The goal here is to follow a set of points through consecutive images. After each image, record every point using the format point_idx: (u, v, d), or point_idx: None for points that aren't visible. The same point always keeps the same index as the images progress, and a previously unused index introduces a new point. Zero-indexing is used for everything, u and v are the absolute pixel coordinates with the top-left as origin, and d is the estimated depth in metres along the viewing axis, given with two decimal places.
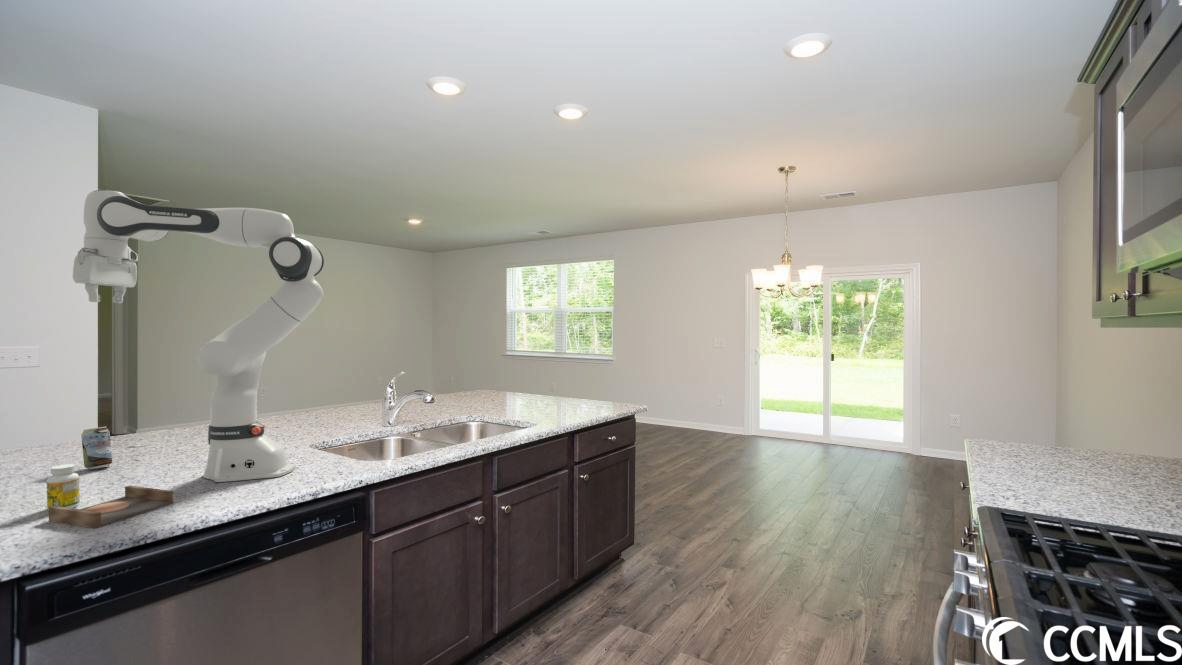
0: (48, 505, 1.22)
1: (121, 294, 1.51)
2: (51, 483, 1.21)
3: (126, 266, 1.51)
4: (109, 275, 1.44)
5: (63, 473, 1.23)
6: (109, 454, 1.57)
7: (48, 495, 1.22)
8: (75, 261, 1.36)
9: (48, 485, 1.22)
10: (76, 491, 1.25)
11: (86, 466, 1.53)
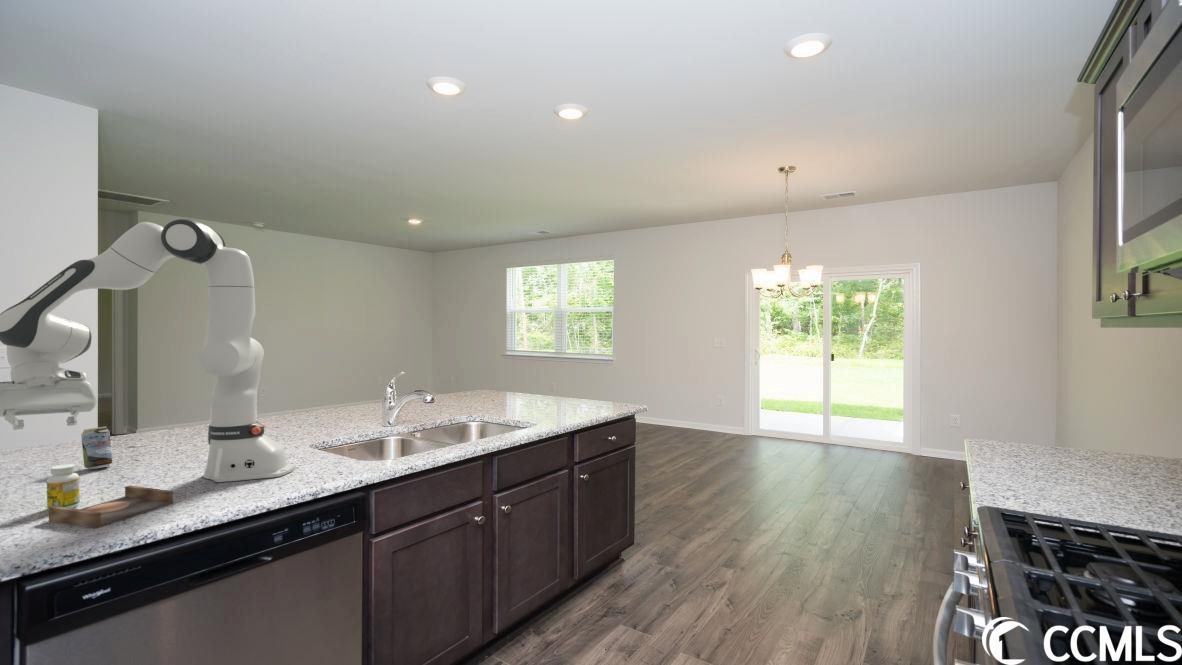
0: (48, 505, 1.22)
1: (73, 414, 1.36)
2: (51, 483, 1.21)
3: (70, 387, 1.39)
4: (33, 398, 1.32)
5: (63, 473, 1.23)
6: (109, 454, 1.57)
7: (48, 495, 1.22)
8: None
9: (48, 485, 1.22)
10: (76, 491, 1.25)
11: (86, 466, 1.53)
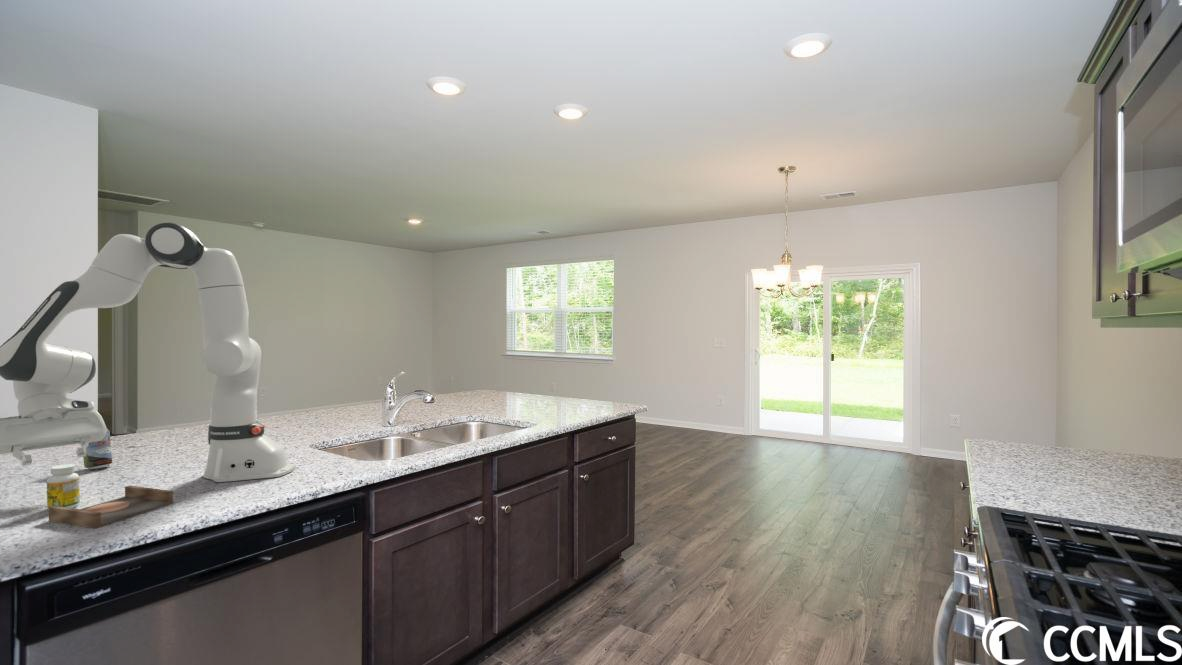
0: (48, 505, 1.22)
1: (83, 445, 1.33)
2: (51, 483, 1.21)
3: (78, 417, 1.35)
4: (40, 431, 1.28)
5: (63, 473, 1.23)
6: (109, 454, 1.57)
7: (48, 495, 1.22)
8: None
9: (48, 485, 1.22)
10: (76, 491, 1.25)
11: (86, 466, 1.53)
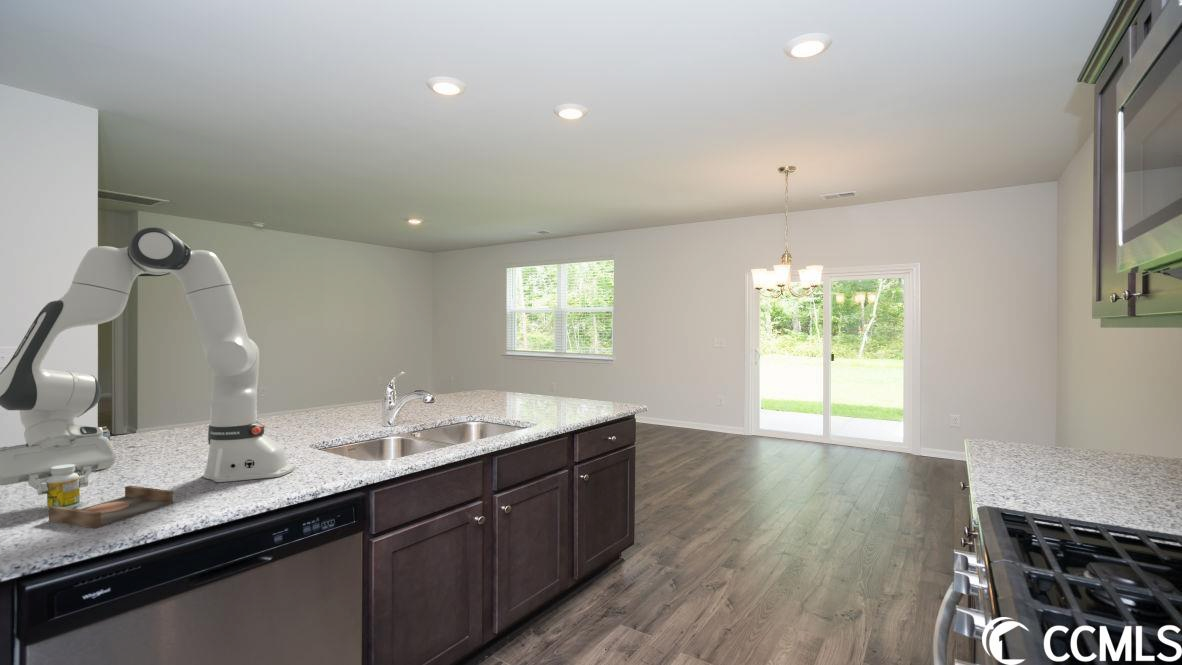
0: (48, 505, 1.22)
1: (84, 474, 1.28)
2: (51, 483, 1.21)
3: (87, 444, 1.31)
4: (48, 460, 1.24)
5: (63, 473, 1.23)
6: None
7: (48, 495, 1.22)
8: None
9: (48, 485, 1.22)
10: (76, 491, 1.25)
11: None
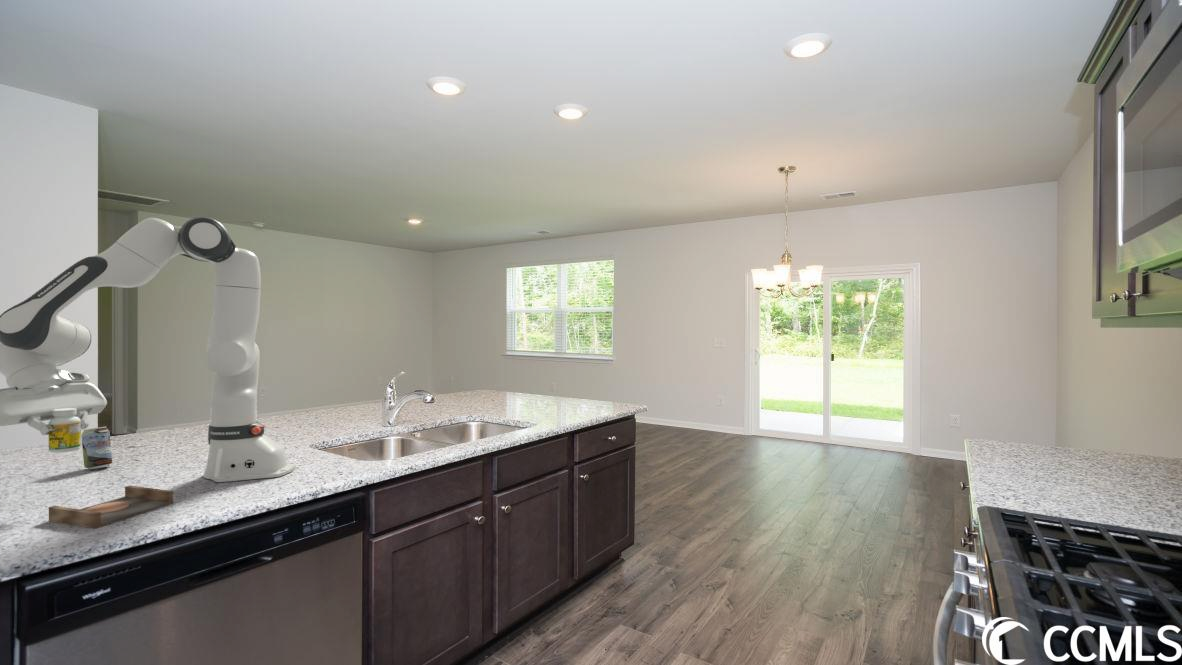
0: (52, 447, 1.23)
1: (82, 417, 1.29)
2: (57, 424, 1.23)
3: (76, 389, 1.32)
4: (45, 402, 1.24)
5: (69, 415, 1.24)
6: (109, 454, 1.57)
7: (53, 436, 1.23)
8: None
9: (53, 427, 1.23)
10: (79, 433, 1.26)
11: (86, 466, 1.53)
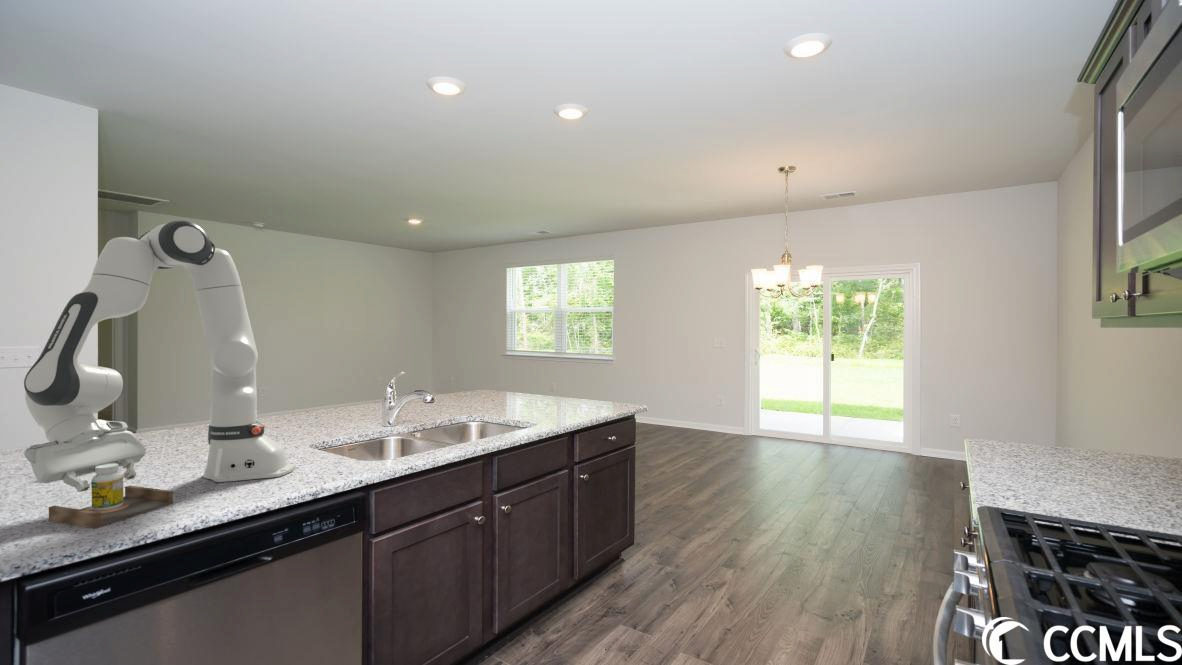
0: (96, 505, 1.20)
1: (129, 467, 1.27)
2: (100, 482, 1.20)
3: (115, 439, 1.29)
4: (87, 455, 1.21)
5: (112, 471, 1.21)
6: None
7: (96, 494, 1.20)
8: (31, 464, 1.15)
9: (96, 485, 1.20)
10: (122, 489, 1.24)
11: None
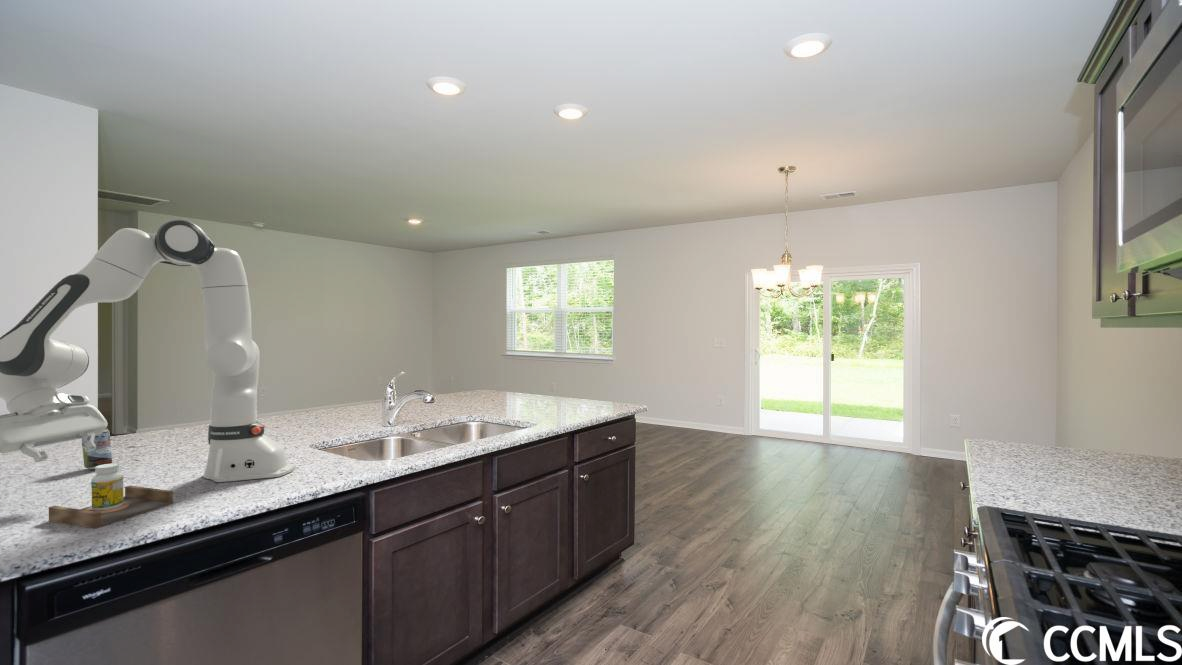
0: (96, 505, 1.20)
1: (90, 439, 1.31)
2: (100, 482, 1.20)
3: (77, 412, 1.32)
4: (46, 427, 1.25)
5: (112, 471, 1.22)
6: (109, 454, 1.57)
7: (96, 494, 1.20)
8: None
9: (96, 485, 1.20)
10: (122, 489, 1.24)
11: (86, 466, 1.53)
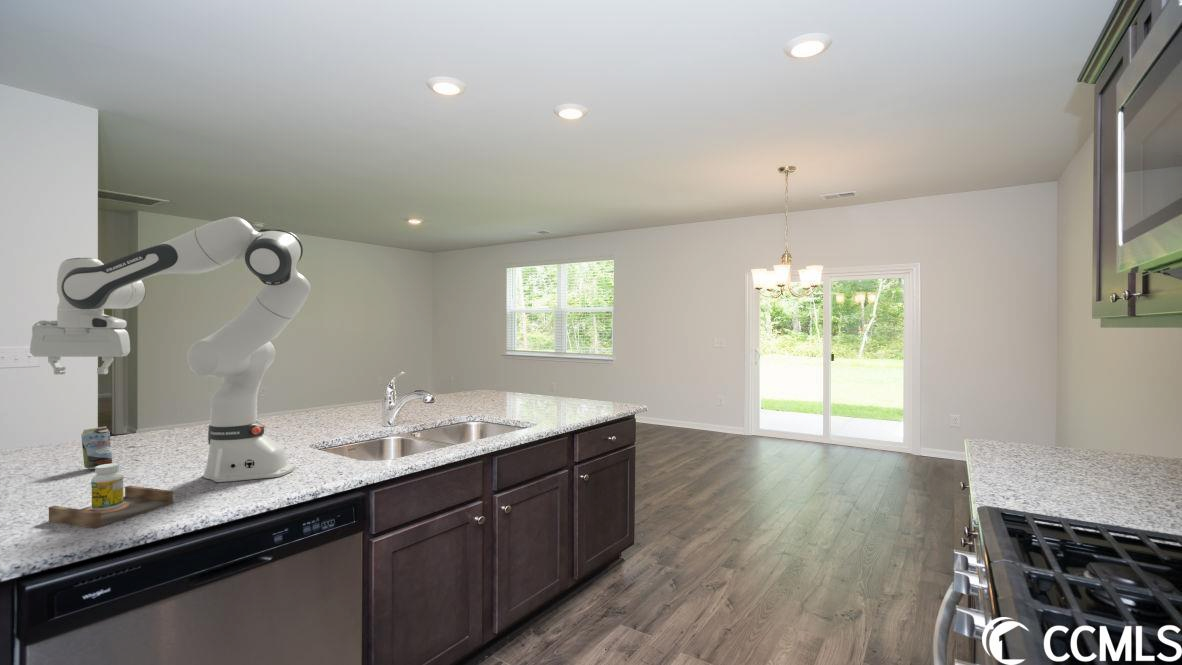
0: (96, 505, 1.20)
1: None
2: (100, 482, 1.20)
3: (100, 334, 1.39)
4: (67, 346, 1.37)
5: (112, 471, 1.22)
6: (109, 454, 1.57)
7: (96, 494, 1.20)
8: None
9: (96, 485, 1.20)
10: (122, 489, 1.24)
11: (86, 466, 1.53)
